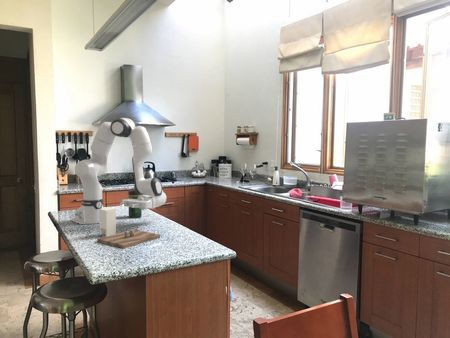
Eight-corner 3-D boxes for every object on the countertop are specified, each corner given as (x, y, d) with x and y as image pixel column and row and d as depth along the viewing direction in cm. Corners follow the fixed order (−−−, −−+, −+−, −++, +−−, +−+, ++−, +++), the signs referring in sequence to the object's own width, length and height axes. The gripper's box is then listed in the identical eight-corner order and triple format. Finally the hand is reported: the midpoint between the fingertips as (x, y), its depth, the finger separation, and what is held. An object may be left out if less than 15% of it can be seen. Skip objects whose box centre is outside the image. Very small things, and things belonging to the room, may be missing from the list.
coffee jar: (143, 217, 242) (142, 189, 240) (131, 218, 238) (130, 190, 236) (139, 214, 250) (138, 187, 249) (127, 216, 246) (126, 188, 245)
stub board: (97, 241, 184) (97, 232, 184) (133, 231, 204) (133, 223, 204) (124, 248, 173) (123, 239, 173) (160, 237, 193) (160, 229, 193)
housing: (99, 234, 197) (99, 209, 196) (108, 232, 202) (108, 207, 201) (106, 236, 194) (106, 210, 193) (116, 234, 199) (115, 208, 198)
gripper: (132, 195, 224) (113, 198, 213) (156, 197, 212) (138, 201, 201) (132, 205, 224) (114, 209, 213) (156, 208, 213) (138, 212, 202)
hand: (125, 205), depth 207 cm, fingers open, 8 cm apart
